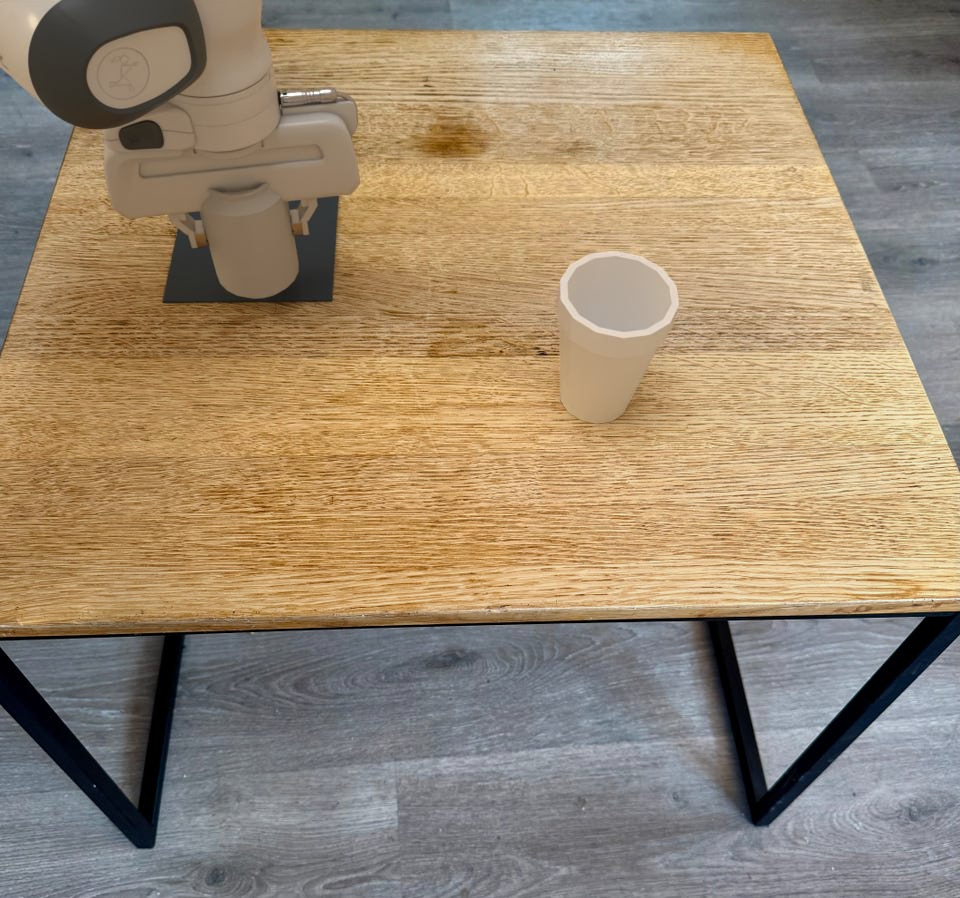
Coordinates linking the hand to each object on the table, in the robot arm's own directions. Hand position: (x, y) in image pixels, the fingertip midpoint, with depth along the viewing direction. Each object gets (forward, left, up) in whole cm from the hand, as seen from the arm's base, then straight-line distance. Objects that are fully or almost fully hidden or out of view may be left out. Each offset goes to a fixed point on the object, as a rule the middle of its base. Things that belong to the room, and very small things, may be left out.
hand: (250, 237), depth 78 cm
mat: (-1, +7, -8) cm, 11 cm away
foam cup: (+31, -13, -8) cm, 34 cm away
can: (0, 0, -5) cm, 5 cm away
